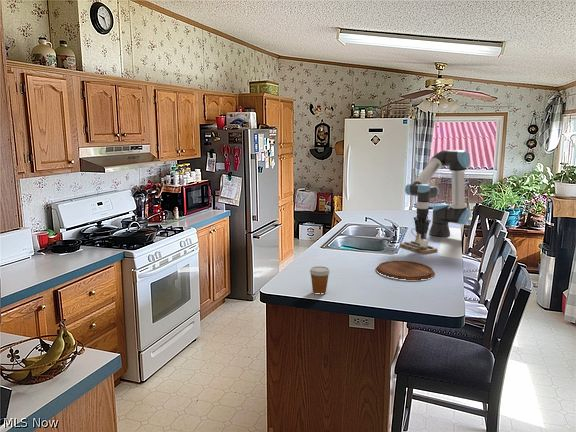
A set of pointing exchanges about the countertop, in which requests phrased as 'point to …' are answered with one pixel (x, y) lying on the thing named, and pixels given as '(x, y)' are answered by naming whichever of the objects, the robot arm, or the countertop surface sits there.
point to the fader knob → (424, 243)
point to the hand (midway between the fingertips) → (420, 243)
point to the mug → (417, 235)
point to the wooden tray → (418, 247)
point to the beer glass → (319, 278)
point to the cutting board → (405, 270)
